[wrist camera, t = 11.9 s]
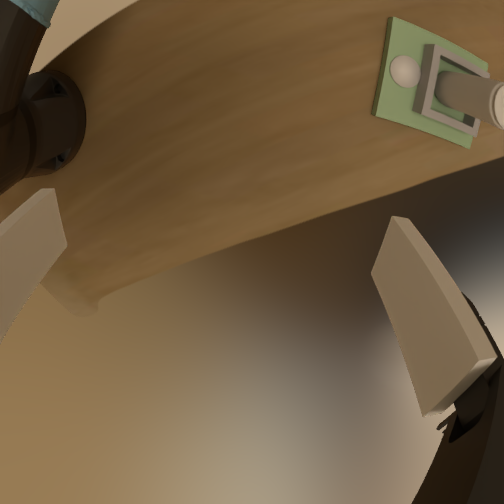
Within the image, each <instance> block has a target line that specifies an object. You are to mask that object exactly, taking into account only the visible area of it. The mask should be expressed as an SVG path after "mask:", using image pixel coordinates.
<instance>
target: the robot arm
mask: <svg viewBox="0 0 504 504" xmlns="http://www.w3.org/2000/svg"><path fill="white" fill-rule="evenodd" d="M58 2H59V0H0V195H1V194H2V193H4V192H5V191H6V190H8V189H9V188H10V187H12V186H13V185H14V184H16V183H17V182H19V181H20V180H21V179H23V178H28V177H35V176H41V175H47V174H51V173H53V172H55V171H57V170H59V169H60V168H62V167H63V166H65V165H66V164H67V163H69V162H70V161H71V160H72V159H73V158H74V156H75V155H76V153H77V152H78V150H79V148H80V146H81V143H82V140H83V137H84V133H85V125H86V114H85V107H84V102H83V99H82V96H81V94H80V91H79V90H78V88H77V86H76V85H75V83H74V82H73V81H72V80H71V79H70V78H69V77H68V76H66V75H65V74H63V73H61V72H58V71H53V70H47V71H41V72H36V73H33V74H30V75H28V74H29V71H30V68H31V66H32V63H33V60H34V58H35V55H36V53H37V50H38V47H39V45H40V43H41V40H42V38H43V36H44V34H45V31H46V29H47V28H49V27H50V25H51V23H50V20H51V18H52V16H53V13H54V11H55V9H56V6H57V5H58ZM66 247H67V242H66V238H65V234H64V230H63V226H62V222H61V217H60V213H59V208H58V203H57V198H56V193H55V188H47V189H40V190H39V191H38V192H36V193H35V194H34V195H33V196H31V197H30V198H29V199H28V200H27V201H25V202H24V203H23V204H22V205H21V206H20V207H18V208H17V209H16V210H15V211H14V212H13V213H12V214H10V215H9V216H8V217H7V218H6V219H5V220H4V221H3V222H2V223H1V224H0V343H1V342H2V340H3V338H4V336H5V335H6V333H7V331H8V330H9V328H10V326H11V325H12V323H13V322H14V320H15V318H16V316H17V315H18V314H19V312H20V311H21V309H22V307H23V306H24V304H25V303H26V301H27V300H28V298H29V297H30V296H31V294H32V293H33V291H34V290H35V288H36V287H37V286H38V284H39V283H40V281H41V280H42V279H43V277H44V276H45V274H46V273H47V272H48V270H49V269H50V268H51V266H52V265H53V264H54V262H55V261H56V260H57V259H58V257H59V256H60V255H61V253H62V252H63V251H64V250H65V248H66ZM371 275H372V277H373V279H374V282H375V284H376V287H377V289H378V291H379V294H380V296H381V299H382V301H383V303H384V306H385V308H386V311H387V313H388V316H389V318H390V321H391V324H392V326H393V329H394V332H395V334H396V337H397V339H398V342H399V345H400V348H401V351H402V353H403V356H404V359H405V362H406V365H407V368H408V371H409V374H410V377H411V380H412V383H413V386H414V390H415V393H416V396H417V399H418V403H419V406H420V409H421V413H422V416H423V417H427V416H431V415H436V414H441V413H443V412H444V411H445V410H446V409H447V408H448V407H449V406H450V405H451V404H453V403H454V405H455V408H456V411H454V412H453V413H452V414H451V415H450V416H449V417H447V418H446V419H445V420H444V421H443V422H441V423H440V424H439V425H438V427H437V430H440V429H441V428H442V427H444V426H445V425H446V424H447V427H446V429H445V430H444V431H443V432H442V433H444V436H443V438H442V441H441V443H440V445H439V448H438V450H437V452H436V455H435V457H434V460H433V462H432V464H431V466H430V468H429V470H428V473H427V475H426V477H425V479H424V481H423V483H422V485H421V487H420V489H419V491H418V493H417V495H416V496H415V498H414V500H413V502H412V504H504V358H503V356H502V354H501V352H500V350H499V349H498V347H497V345H496V343H495V341H494V339H493V337H492V336H491V334H490V332H489V330H488V328H487V327H486V326H485V325H484V324H485V323H484V321H483V320H482V318H481V316H479V313H478V311H477V309H476V308H475V306H474V305H473V303H472V302H471V301H470V300H469V299H468V298H467V297H466V296H465V295H464V294H463V293H462V292H460V290H459V289H458V287H457V285H456V284H455V282H454V281H453V279H452V278H451V276H450V275H449V273H448V272H447V270H446V269H445V267H444V266H443V264H442V263H441V262H440V260H439V259H438V257H437V256H436V254H435V253H434V252H433V251H432V249H431V248H430V246H429V245H428V244H427V242H426V241H425V240H424V238H423V237H422V235H421V234H420V233H419V232H418V230H417V229H416V228H415V227H414V225H413V224H412V223H411V221H410V220H409V219H408V218H401V217H396V216H392V217H391V220H390V223H389V226H388V229H387V232H386V235H385V237H384V240H383V243H382V246H381V248H380V251H379V254H378V257H377V259H376V262H375V264H374V267H373V269H372V272H371Z"/></svg>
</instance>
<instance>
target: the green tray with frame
mask: <svg viewBox="0 0 504 504" xmlns="http://www.w3.org/2000/svg"><path fill="white" fill-rule="evenodd" d="M487 69H488V63H486V62H484V61H483V60H481V59H480V58H478V57H476V56H475V55H473V54H471V53H469V52H468V51H466V50H464V49H462V48H461V47H459V46H457V45H455V44H453V43H451V42H449V41H447V40H445V39H444V38H442V37H439V36H437V35H435V34H433V33H431V32H429V31H427V30H425V29H422V28H420V27H418V26H416V25H413V24H411V23H408V22H406V21H403V20H401V19H398V18H396V17H390V18H388V25H387V32H386V39H385V45H384V51H383V57H382V63H381V68H380V74H379V79H378V84H377V90H376V94H375V99H374V104H373V109H372V113H371V114H372V115H375V116H377V117H381V118H384V119H388V120H391V121H394V122H398V123H401V124H404V125H407V126H410V127H413V128H416V129H419V130H422V131H425V132H427V133H430V134H433V135H436V136H438V137H441V138H443V139H446V140H449V141H451V142H454V143H456V144H458V145H461V146H463V147H466V148H468V149H470V146H471V142H472V139H473V136H474V137H477V133H478V129H479V125H480V121H481V120H480V119H477V118H475V117H472V116H470V115H467V114H465V113H462V112H460V111H457V110H454V109H451V108H449V107H446V106H445V105H443V104H442V103H441V102H440V101H439V100H438V98H437V96H436V94H435V84H436V79H437V76H438V75H439V74H440V73H442V72H444V71H451V72H457V73H463V74H469V75H474V76H479V77H484V78H490V74H489V73H487Z"/></svg>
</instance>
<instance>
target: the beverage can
mask: <svg viewBox="0 0 504 504" xmlns="http://www.w3.org/2000/svg"><path fill="white" fill-rule="evenodd" d="M435 94H436V96H437V98H438V100H439V101H440V102H441V103H442V104H443V105H445V106H446V107H449V108H451V109H454V110H457V111H460V112H462V113H465V114H467V115H470V116H472V117H475V118H477V119H480V120H482V121H484V122H486V123H489V124H491V125H493V126H495V127H497V128H500V129H502V130H504V82H501V81H497V80H493V79H489V78H484V77H479V76H474V75H469V74H463V73H457V72H451V71H444V72H442V73H440V74H439V75H438V76H437V79H436V84H435Z"/></svg>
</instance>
